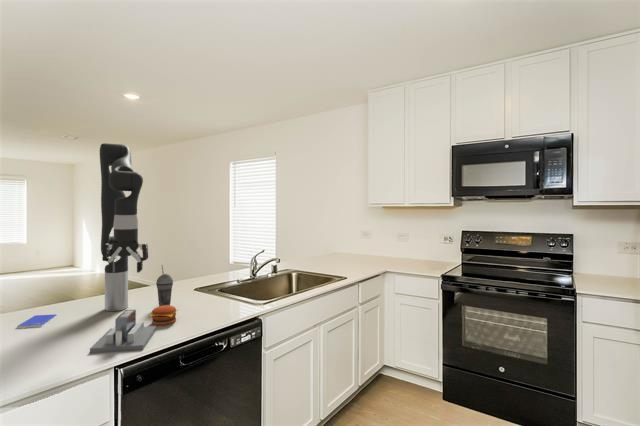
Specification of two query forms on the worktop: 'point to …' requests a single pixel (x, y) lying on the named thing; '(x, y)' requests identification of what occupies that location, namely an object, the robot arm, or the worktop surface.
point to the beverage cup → (164, 289)
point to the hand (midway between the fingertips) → (125, 272)
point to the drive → (125, 323)
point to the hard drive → (37, 321)
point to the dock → (135, 341)
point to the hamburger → (163, 315)
